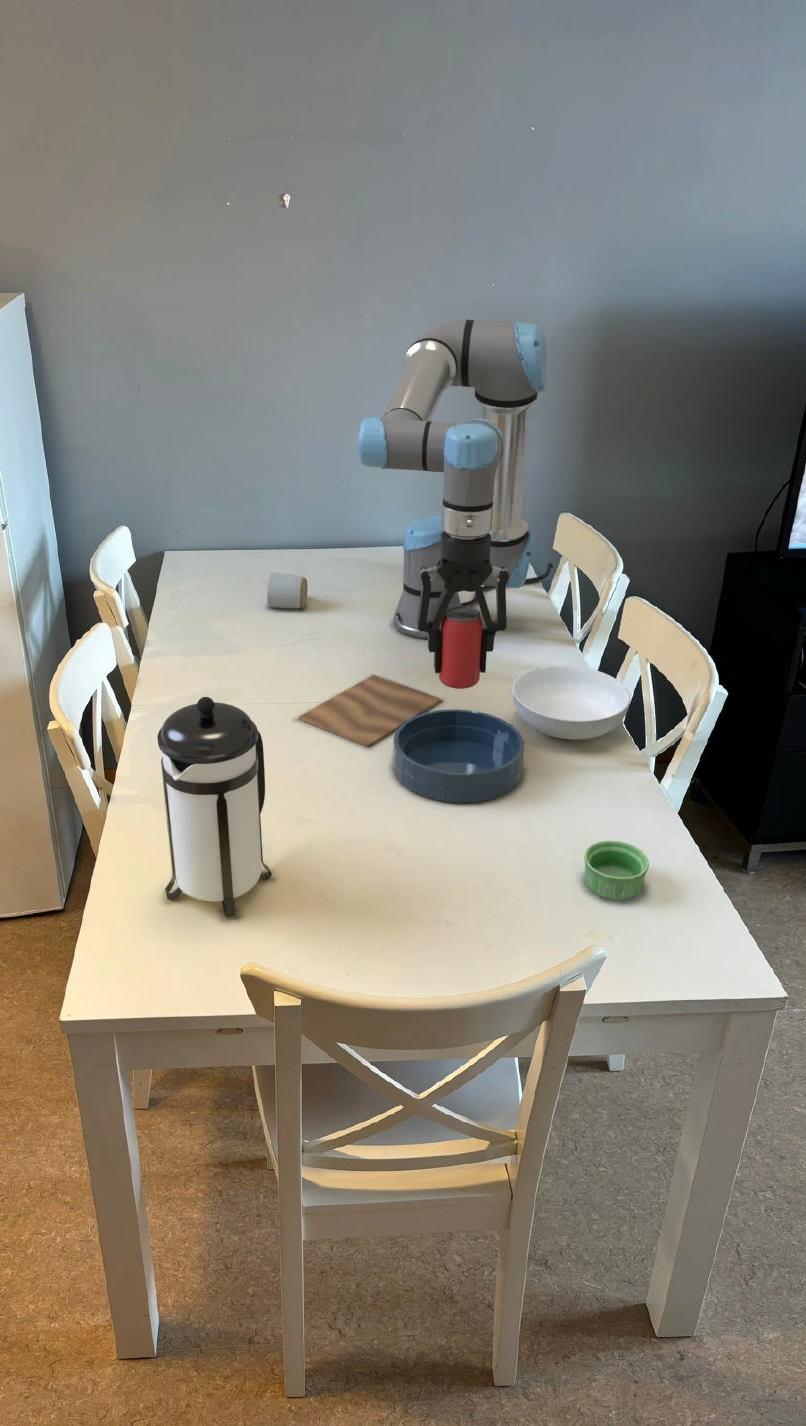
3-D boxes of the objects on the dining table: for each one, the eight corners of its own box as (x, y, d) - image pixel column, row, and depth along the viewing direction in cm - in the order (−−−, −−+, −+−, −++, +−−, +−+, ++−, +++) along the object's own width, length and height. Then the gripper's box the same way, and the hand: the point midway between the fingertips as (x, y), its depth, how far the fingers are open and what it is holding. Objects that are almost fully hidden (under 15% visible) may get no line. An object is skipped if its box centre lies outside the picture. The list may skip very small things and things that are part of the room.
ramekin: (603, 910, 148) (607, 884, 146) (569, 873, 155) (572, 848, 153) (657, 894, 152) (661, 869, 149) (621, 859, 159) (625, 834, 157)
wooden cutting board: (373, 676, 209) (373, 674, 209) (441, 701, 201) (441, 698, 201) (298, 719, 194) (298, 716, 194) (367, 747, 186) (367, 745, 185)
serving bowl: (496, 740, 189) (498, 706, 185) (525, 689, 206) (528, 657, 203) (614, 764, 182) (619, 728, 179) (634, 709, 200) (639, 676, 196)
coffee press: (289, 909, 147) (282, 717, 133) (171, 929, 143) (150, 733, 128) (266, 838, 162) (258, 657, 147) (158, 854, 157) (139, 670, 143)
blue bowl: (441, 724, 193) (443, 697, 191) (545, 763, 182) (548, 735, 180) (367, 773, 178) (367, 745, 175) (475, 819, 167) (477, 789, 164)
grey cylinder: (304, 614, 235) (303, 581, 232) (266, 612, 236) (265, 579, 232) (310, 596, 245) (310, 564, 241) (274, 594, 245) (273, 562, 241)
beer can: (476, 692, 170) (480, 623, 164) (435, 688, 171) (438, 619, 165) (481, 674, 176) (486, 606, 170) (442, 669, 177) (444, 602, 171)
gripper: (402, 540, 157) (400, 680, 168) (535, 540, 158) (523, 679, 170) (399, 523, 164) (397, 659, 175) (526, 523, 165) (516, 658, 176)
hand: (459, 668), depth 172 cm, fingers closed on beer can, 6 cm apart
